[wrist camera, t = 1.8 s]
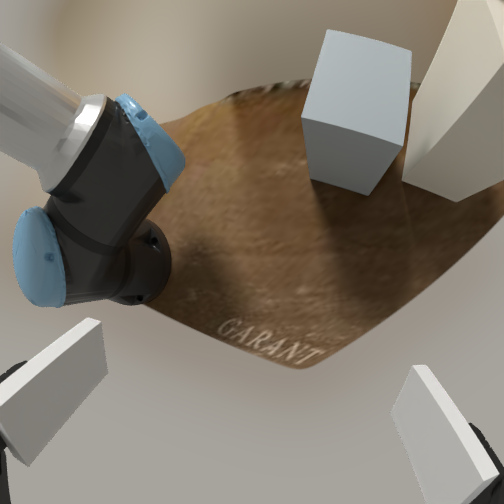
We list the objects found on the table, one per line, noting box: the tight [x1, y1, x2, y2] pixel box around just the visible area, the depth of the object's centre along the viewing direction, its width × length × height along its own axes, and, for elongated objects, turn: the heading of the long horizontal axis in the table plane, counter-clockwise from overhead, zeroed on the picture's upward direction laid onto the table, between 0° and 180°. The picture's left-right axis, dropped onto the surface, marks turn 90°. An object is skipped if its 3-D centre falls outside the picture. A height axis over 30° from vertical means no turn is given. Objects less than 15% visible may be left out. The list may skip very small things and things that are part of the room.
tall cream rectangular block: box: [401, 0, 504, 202], centre depth 22 cm, size 10×15×30 cm, turn 162°
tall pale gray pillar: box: [301, 29, 412, 196], centre depth 30 cm, size 9×12×19 cm
